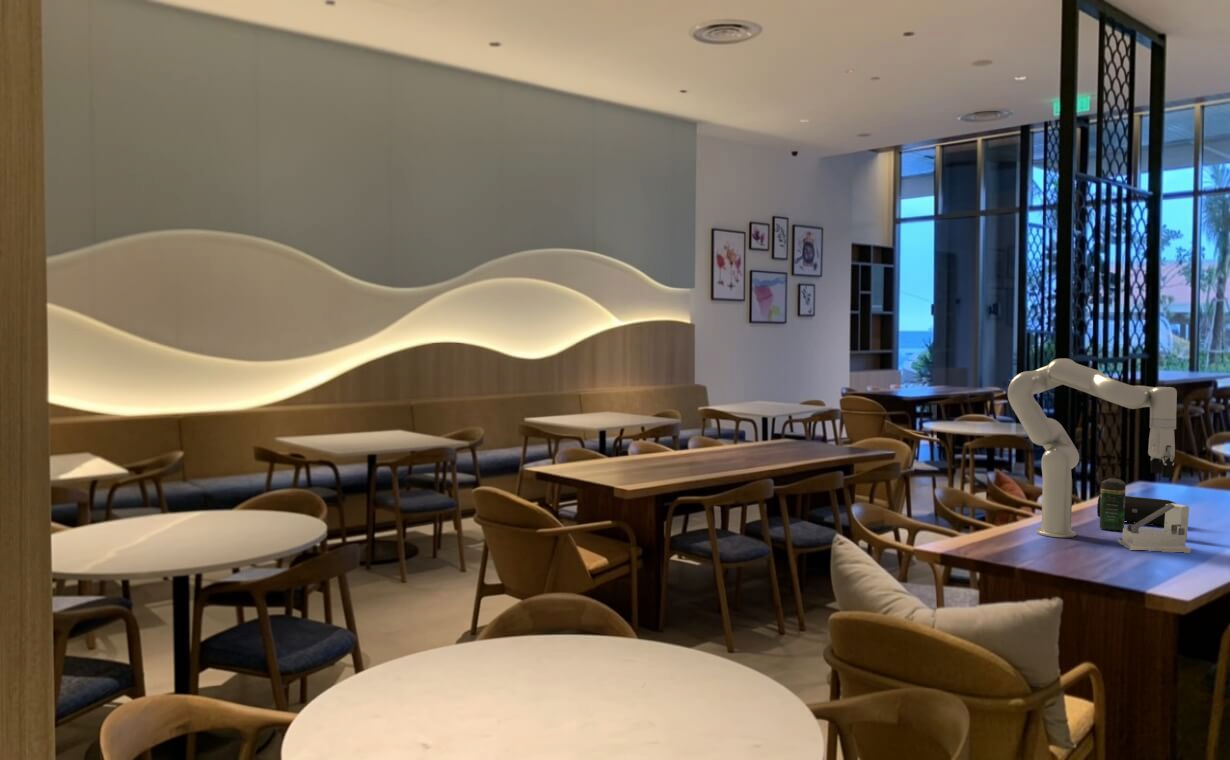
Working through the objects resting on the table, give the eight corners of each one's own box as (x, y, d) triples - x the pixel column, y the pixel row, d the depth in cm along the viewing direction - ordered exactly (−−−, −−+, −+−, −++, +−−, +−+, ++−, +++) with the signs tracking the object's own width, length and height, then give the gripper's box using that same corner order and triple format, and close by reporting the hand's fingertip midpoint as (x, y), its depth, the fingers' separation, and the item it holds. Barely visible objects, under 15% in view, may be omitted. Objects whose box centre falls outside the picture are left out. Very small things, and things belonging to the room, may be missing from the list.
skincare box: (1162, 538, 318) (1164, 503, 318) (1170, 536, 320) (1171, 502, 320) (1180, 541, 313) (1181, 506, 312) (1188, 540, 315) (1189, 505, 314)
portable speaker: (1096, 521, 349) (1097, 495, 348) (1101, 517, 356) (1101, 492, 356) (1173, 529, 333) (1174, 502, 333) (1176, 525, 341) (1177, 499, 340)
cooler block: (1117, 542, 311) (1118, 520, 311) (1175, 545, 308) (1175, 523, 307) (1130, 550, 299) (1131, 528, 299) (1190, 553, 296) (1191, 530, 295)
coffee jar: (1122, 532, 327) (1124, 481, 326) (1098, 530, 332) (1099, 479, 331) (1125, 528, 335) (1127, 478, 334) (1101, 525, 340) (1103, 476, 339)
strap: (1130, 529, 306) (1128, 526, 306) (1171, 505, 303) (1169, 502, 303) (1133, 531, 303) (1132, 528, 303) (1175, 507, 300) (1173, 504, 300)
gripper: (1140, 421, 310) (1139, 471, 311) (1160, 426, 293) (1159, 478, 294) (1164, 422, 309) (1163, 472, 309) (1186, 426, 292) (1185, 479, 293)
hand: (1161, 475), depth 302 cm, fingers open, 9 cm apart
